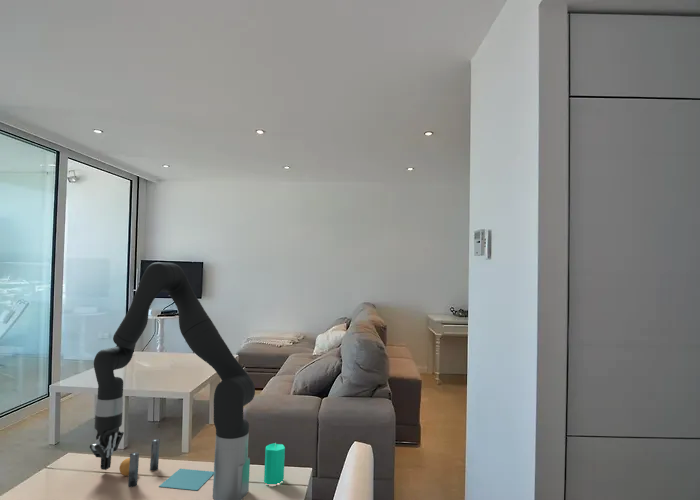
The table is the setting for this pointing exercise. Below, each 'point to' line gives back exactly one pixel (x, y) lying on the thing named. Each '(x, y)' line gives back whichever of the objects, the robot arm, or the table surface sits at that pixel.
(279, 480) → the candle
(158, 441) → the right post
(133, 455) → the left post
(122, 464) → the ball
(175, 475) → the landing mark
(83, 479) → the table surface
